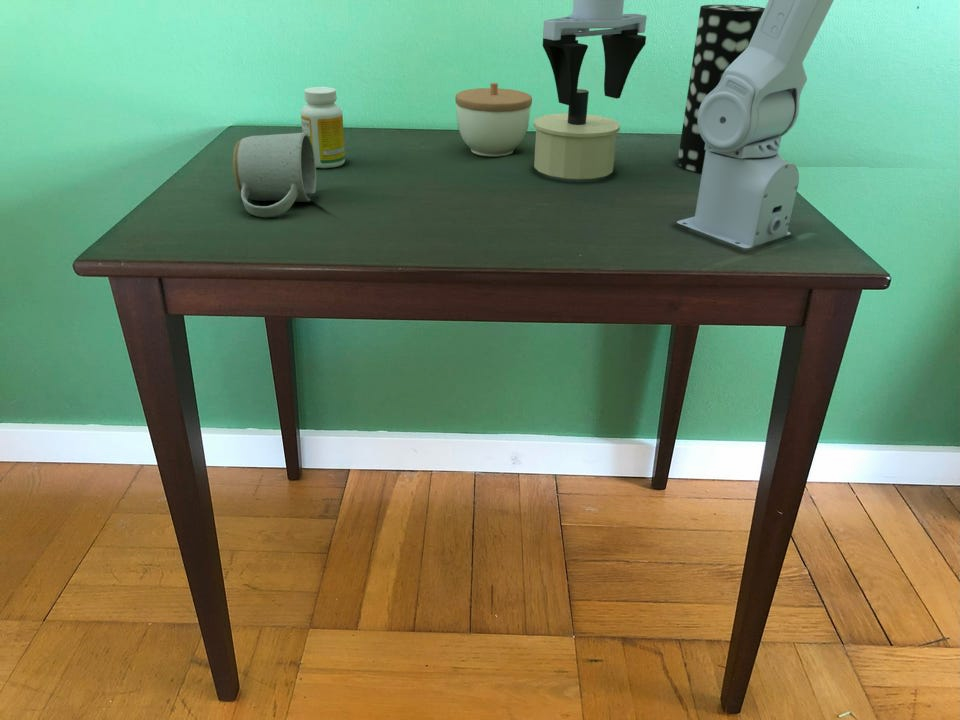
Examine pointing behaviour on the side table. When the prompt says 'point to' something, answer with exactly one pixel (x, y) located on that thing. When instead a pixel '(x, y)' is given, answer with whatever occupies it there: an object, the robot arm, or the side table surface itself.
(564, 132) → the tin lid
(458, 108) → the trinket box
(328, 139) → the supplement bottle
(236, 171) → the ceramic mug
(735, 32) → the white-spotted black cylinder
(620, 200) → the side table surface
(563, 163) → the tin
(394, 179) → the side table surface
